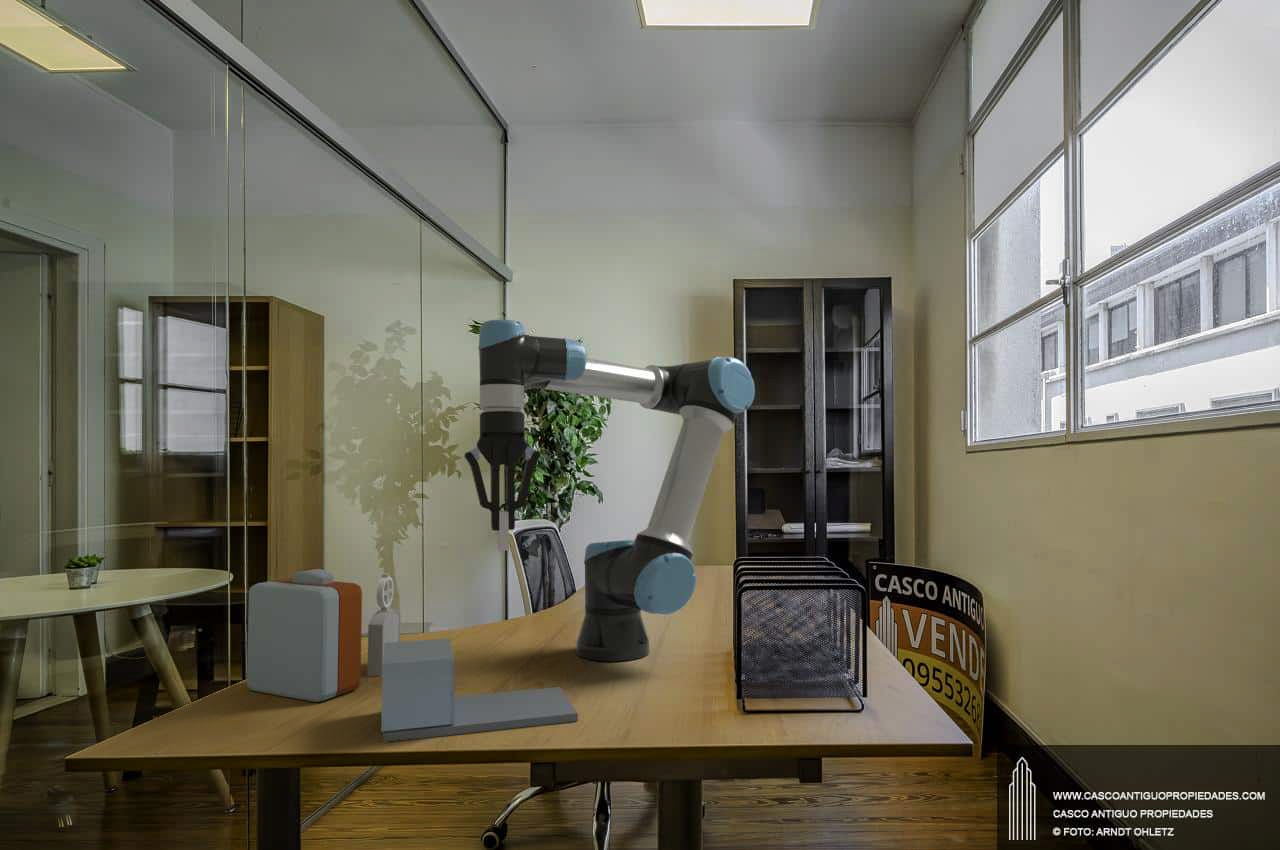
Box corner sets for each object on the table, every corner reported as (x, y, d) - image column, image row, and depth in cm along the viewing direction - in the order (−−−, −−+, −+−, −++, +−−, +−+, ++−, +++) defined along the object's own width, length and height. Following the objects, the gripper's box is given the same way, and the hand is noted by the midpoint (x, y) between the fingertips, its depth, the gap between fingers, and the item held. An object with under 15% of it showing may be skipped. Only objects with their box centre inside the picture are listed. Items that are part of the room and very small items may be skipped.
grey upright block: (449, 696, 120) (449, 638, 121) (454, 723, 108) (454, 658, 108) (384, 703, 117) (385, 642, 118) (381, 731, 105) (382, 664, 105)
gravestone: (367, 675, 138) (369, 578, 139) (386, 662, 147) (387, 570, 148) (382, 675, 138) (383, 578, 138) (399, 662, 147) (400, 570, 148)
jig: (559, 694, 126) (559, 663, 126) (577, 721, 113) (577, 686, 113) (386, 711, 118) (386, 677, 118) (383, 742, 104) (383, 704, 105)
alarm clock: (362, 690, 129) (364, 571, 130) (321, 705, 121) (323, 578, 122) (287, 677, 137) (289, 565, 138) (244, 690, 129) (247, 571, 130)
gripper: (536, 412, 132) (537, 545, 131) (461, 412, 128) (462, 549, 127) (544, 409, 125) (545, 550, 124) (465, 409, 121) (465, 554, 120)
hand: (503, 549), depth 126 cm, fingers closed
